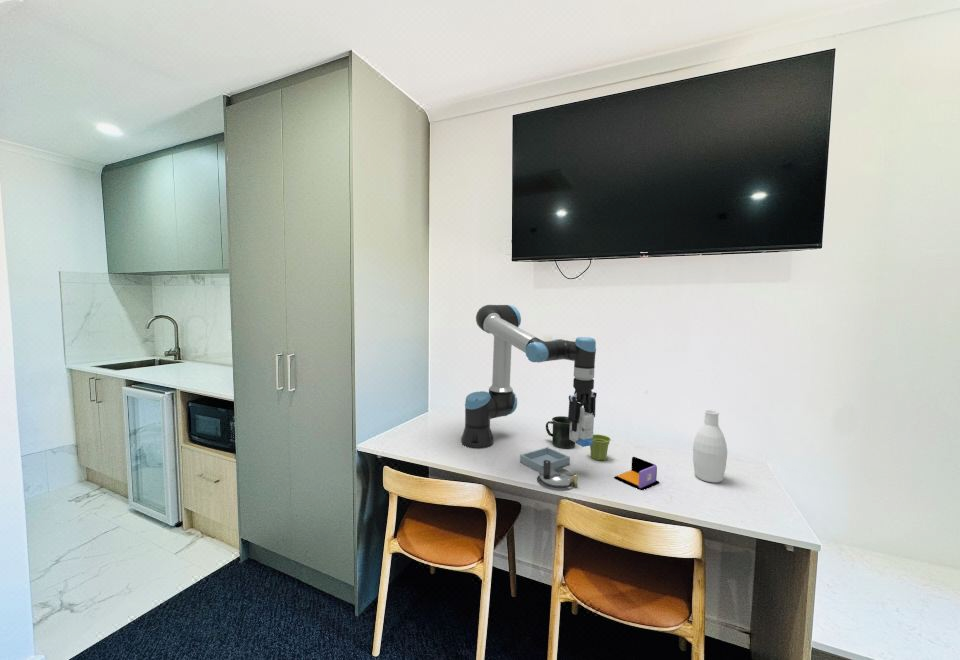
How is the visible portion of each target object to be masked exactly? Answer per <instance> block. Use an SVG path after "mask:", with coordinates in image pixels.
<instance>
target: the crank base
mask: <svg viewBox="0 0 960 660" xmlns="http://www.w3.org/2000/svg"><path fill="white" fill-rule="evenodd" d="M578 475H579V474H577V473H574V474H573V484H572V485H571V486H568V487H564V488H557V487H551V486H548V485H546V484H544V483H542V482H541V480H540V474H538V476H537V477H536V482H537V483H538V485H539V486H541V487H543V488H545V489H548V490H552V491H557V492H564V491H565V492H566V491H571V490H573V489H575V488H577V487H578Z"/></svg>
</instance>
